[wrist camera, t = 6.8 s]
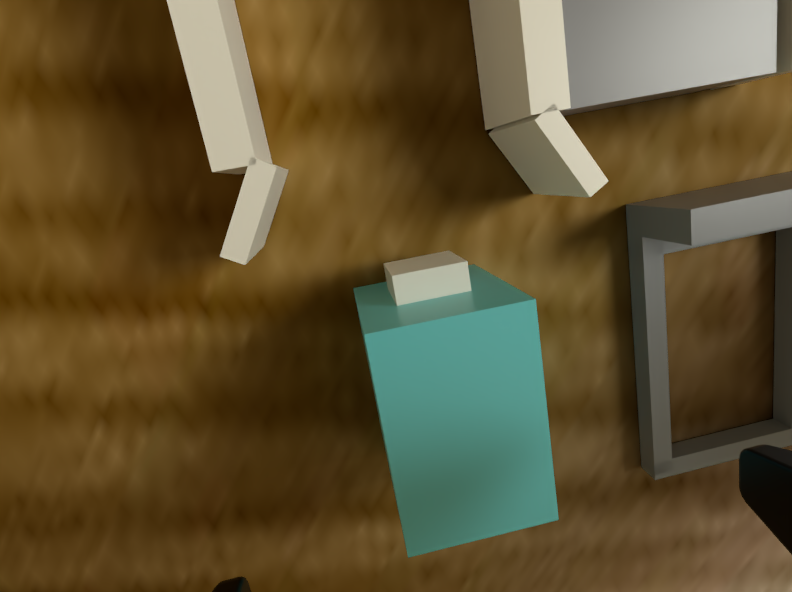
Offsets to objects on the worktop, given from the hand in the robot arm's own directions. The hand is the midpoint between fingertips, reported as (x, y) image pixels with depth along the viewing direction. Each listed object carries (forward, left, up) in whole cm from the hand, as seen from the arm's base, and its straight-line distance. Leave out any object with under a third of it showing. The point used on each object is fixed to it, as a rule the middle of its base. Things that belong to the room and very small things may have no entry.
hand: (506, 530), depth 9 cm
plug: (0, 0, -8) cm, 8 cm away
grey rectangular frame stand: (-11, +2, -8) cm, 14 cm away
